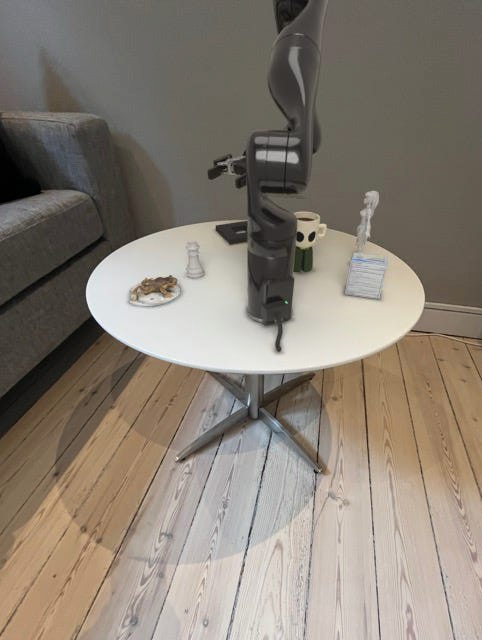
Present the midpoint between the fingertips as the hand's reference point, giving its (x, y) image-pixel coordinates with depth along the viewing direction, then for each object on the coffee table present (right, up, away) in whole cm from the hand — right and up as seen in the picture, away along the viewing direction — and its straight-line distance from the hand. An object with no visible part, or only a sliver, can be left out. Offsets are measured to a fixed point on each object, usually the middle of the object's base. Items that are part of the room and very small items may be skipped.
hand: (222, 179), depth 88 cm
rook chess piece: (-7, -20, +8) cm, 23 cm away
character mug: (+19, -17, +11) cm, 28 cm away
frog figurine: (-15, -26, 0) cm, 30 cm away
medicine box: (+33, -26, +2) cm, 42 cm away
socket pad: (+3, -2, +28) cm, 28 cm away
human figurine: (+34, -16, +13) cm, 40 cm away
